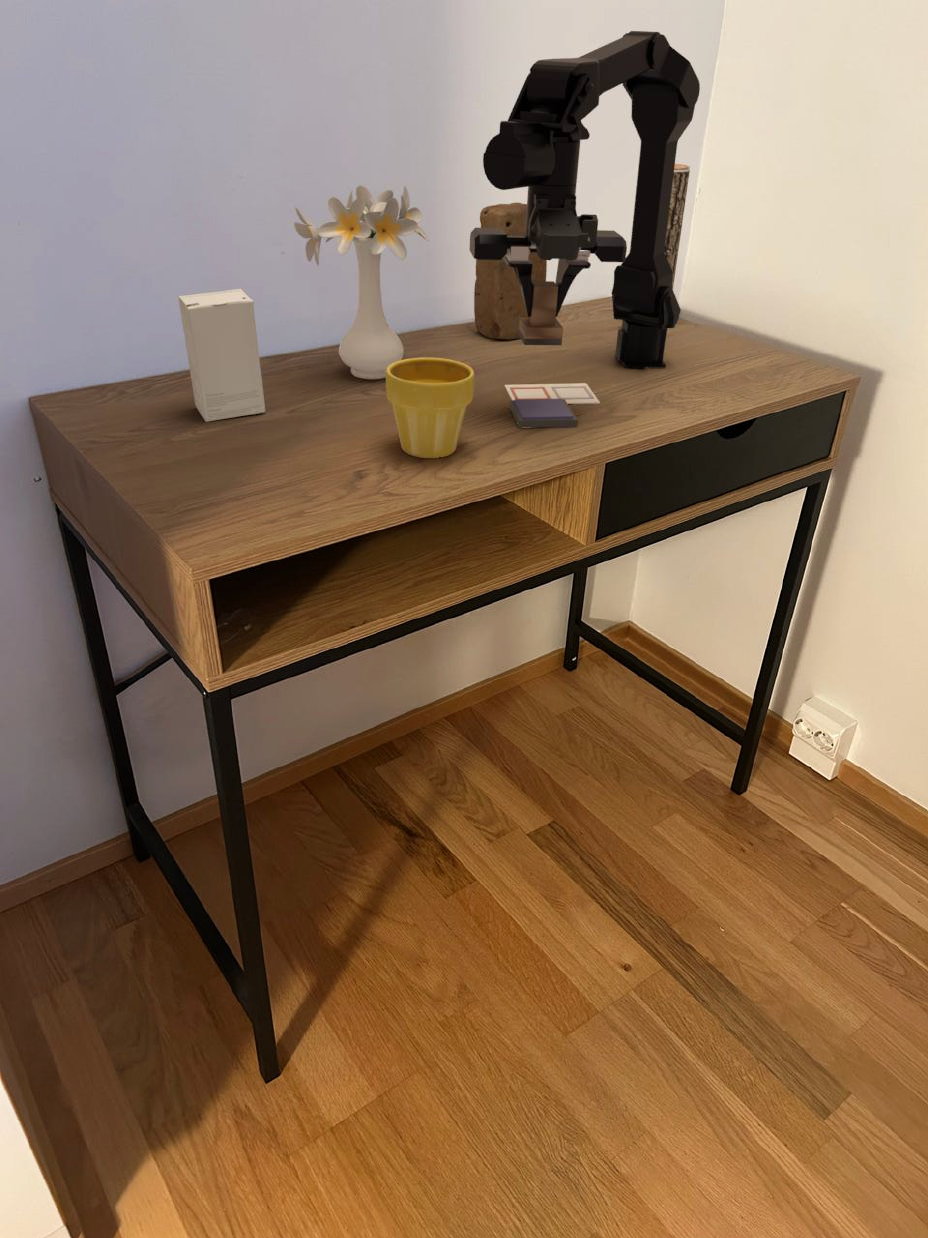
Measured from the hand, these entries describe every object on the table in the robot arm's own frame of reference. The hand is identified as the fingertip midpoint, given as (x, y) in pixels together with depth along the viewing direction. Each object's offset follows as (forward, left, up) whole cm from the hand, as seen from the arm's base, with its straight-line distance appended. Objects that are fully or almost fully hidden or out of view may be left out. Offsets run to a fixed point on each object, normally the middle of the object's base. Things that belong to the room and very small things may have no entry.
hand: (541, 316), depth 121 cm
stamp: (0, 0, -3) cm, 3 cm away
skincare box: (+41, -2, -13) cm, 43 cm away
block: (-2, -36, -13) cm, 38 cm away
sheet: (-3, -6, -13) cm, 14 cm away
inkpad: (0, +3, -13) cm, 13 cm away
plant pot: (+16, +12, -13) cm, 23 cm away
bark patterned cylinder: (-28, -42, -13) cm, 52 cm away
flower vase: (+22, -16, -13) cm, 30 cm away
